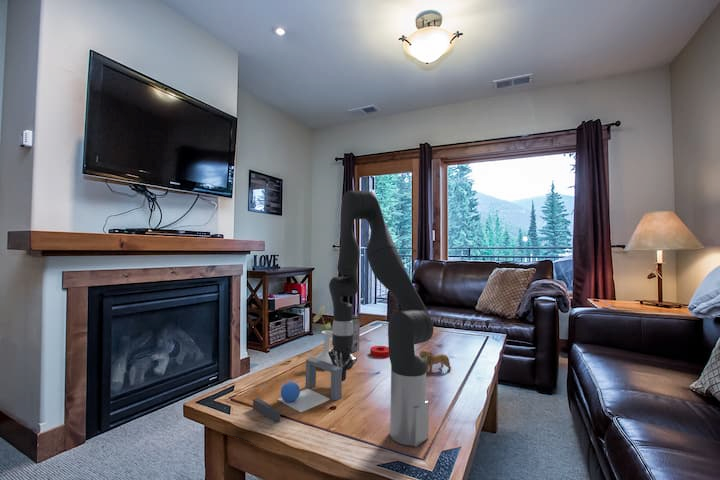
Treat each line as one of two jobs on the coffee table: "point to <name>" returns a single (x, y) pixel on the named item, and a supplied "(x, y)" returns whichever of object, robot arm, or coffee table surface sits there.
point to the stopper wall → (266, 409)
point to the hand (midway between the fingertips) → (341, 380)
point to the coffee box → (356, 333)
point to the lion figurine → (435, 360)
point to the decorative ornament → (379, 351)
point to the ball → (290, 391)
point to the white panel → (306, 400)
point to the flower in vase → (327, 335)
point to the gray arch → (335, 370)
